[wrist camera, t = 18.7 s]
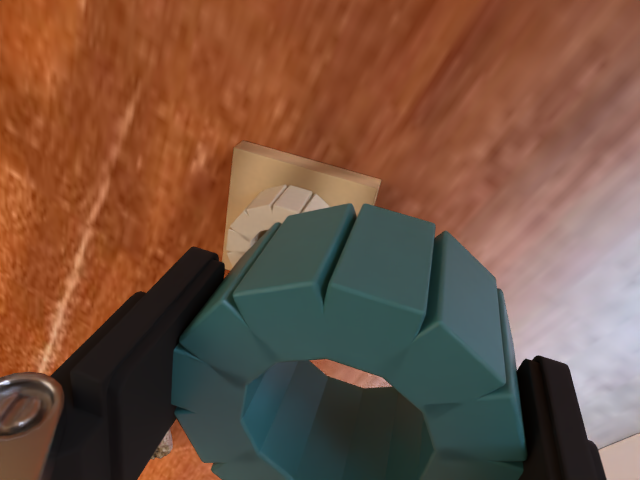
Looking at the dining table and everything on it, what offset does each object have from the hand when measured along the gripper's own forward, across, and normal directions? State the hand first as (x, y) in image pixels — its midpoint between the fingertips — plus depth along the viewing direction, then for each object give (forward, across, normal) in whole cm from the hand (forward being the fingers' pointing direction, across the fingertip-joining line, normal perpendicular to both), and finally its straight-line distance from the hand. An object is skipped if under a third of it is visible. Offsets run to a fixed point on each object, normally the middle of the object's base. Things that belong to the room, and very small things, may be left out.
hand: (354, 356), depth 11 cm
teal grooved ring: (+1, 0, 0) cm, 1 cm away
